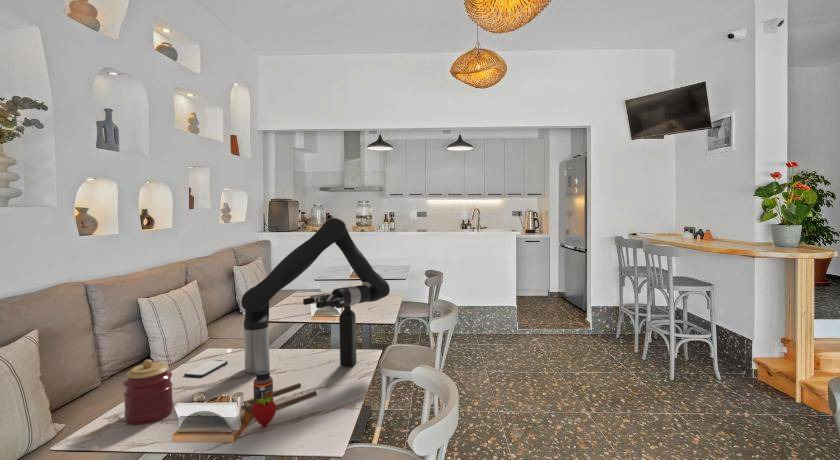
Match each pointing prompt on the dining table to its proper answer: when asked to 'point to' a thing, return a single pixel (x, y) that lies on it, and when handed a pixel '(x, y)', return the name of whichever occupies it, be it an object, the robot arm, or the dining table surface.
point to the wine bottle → (347, 337)
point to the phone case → (206, 368)
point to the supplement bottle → (263, 385)
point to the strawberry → (264, 411)
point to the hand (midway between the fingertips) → (310, 303)
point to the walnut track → (248, 403)
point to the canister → (148, 393)
